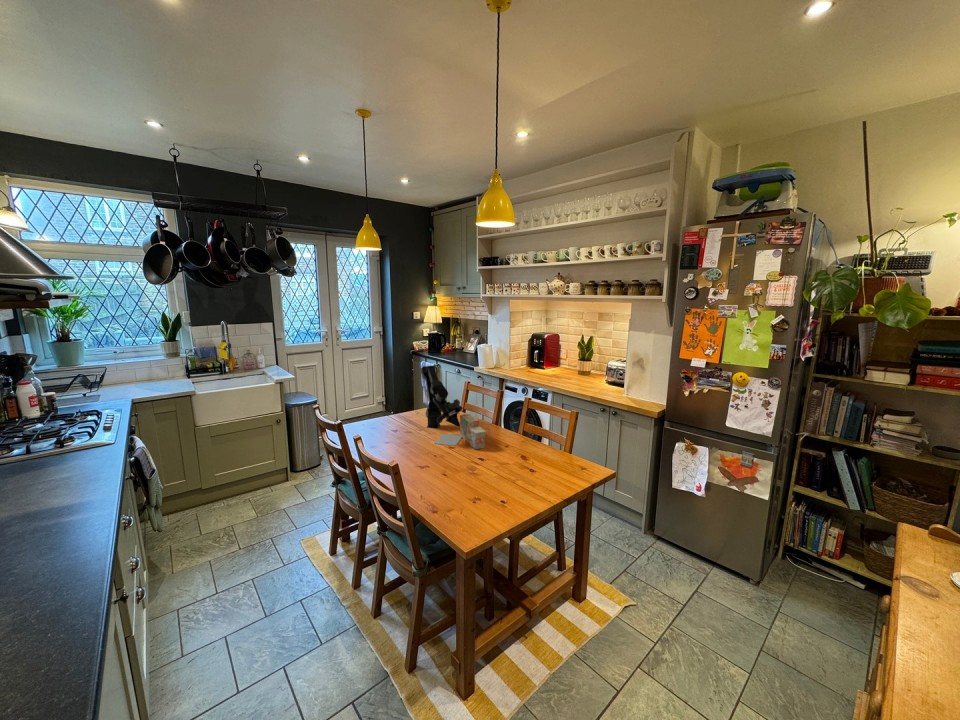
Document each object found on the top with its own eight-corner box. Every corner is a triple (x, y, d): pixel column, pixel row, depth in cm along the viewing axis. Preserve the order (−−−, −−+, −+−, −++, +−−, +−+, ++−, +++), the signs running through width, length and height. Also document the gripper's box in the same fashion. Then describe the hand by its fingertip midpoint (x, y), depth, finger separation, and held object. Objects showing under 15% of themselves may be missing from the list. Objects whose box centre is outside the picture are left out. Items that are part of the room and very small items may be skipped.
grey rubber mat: (434, 443, 210) (434, 443, 210) (443, 434, 223) (443, 433, 223) (455, 446, 207) (455, 445, 207) (462, 436, 221) (462, 435, 221)
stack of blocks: (485, 447, 205) (486, 425, 203) (474, 449, 202) (475, 427, 200) (469, 433, 224) (469, 413, 222) (459, 435, 221) (459, 414, 219)
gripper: (441, 400, 206) (458, 423, 202) (459, 391, 221) (476, 413, 218) (429, 411, 211) (446, 434, 207) (448, 403, 227) (464, 424, 223)
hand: (459, 426), depth 214 cm, fingers closed
